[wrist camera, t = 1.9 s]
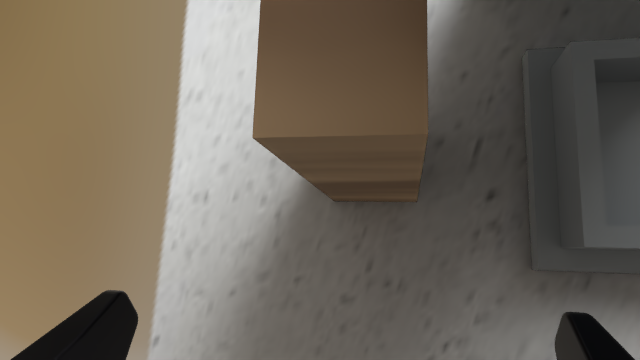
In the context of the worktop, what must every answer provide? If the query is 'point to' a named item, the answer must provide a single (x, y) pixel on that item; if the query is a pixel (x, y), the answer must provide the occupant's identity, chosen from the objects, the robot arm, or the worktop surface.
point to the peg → (345, 94)
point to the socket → (584, 155)
